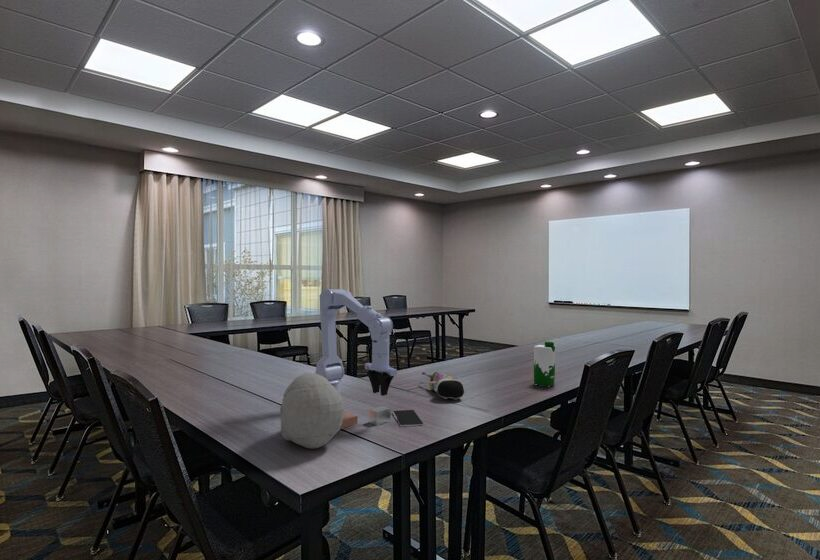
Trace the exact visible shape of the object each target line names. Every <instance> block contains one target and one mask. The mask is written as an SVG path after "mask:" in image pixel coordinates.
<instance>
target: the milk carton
mask: <svg viewBox="0 0 820 560" xmlns="http://www.w3.org/2000/svg"><path fill="white" fill-rule="evenodd" d="M556 348H557V346H556V345H555V343H554V342H553V341H545V342H544V344H537V345H535V346H533V384H537V385H543V386H542V387H544V386H551V385H552V386H554V385H555V378H556V377H555V376H556V375H555V374H556V350H557V349H556ZM553 384H554V385H553ZM537 385H536V386H537ZM552 386H551V387H552Z"/></svg>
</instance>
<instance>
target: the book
mask: <svg viewBox="0 0 820 560" xmlns="http://www.w3.org/2000/svg"><path fill="white" fill-rule="evenodd" d="M358 418H359V417H358V415H356V414H352V413H350V412H347V411H344V416H343V422H342V425H341V428H343V429H345V427H346V428H349V427H352V426H355V425H358ZM351 425H352V426H351ZM348 426H349V427H348ZM341 428H340V430H342V429H341Z"/></svg>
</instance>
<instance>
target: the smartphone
mask: <svg viewBox="0 0 820 560" xmlns="http://www.w3.org/2000/svg"><path fill="white" fill-rule="evenodd" d="M391 413H392V416H393V415H394V416H393V418H395V420H396V422H397V421H398V422H397V423H398V425H399V427H400V426H401V428H403V427H402V426H409V427H420V426H419V425H423V426H424V422H423V421H422V419H421V418H420V417H419V416H418V414H417V412H416V411H415V410H414V409H403V410H392V412H391Z"/></svg>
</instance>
